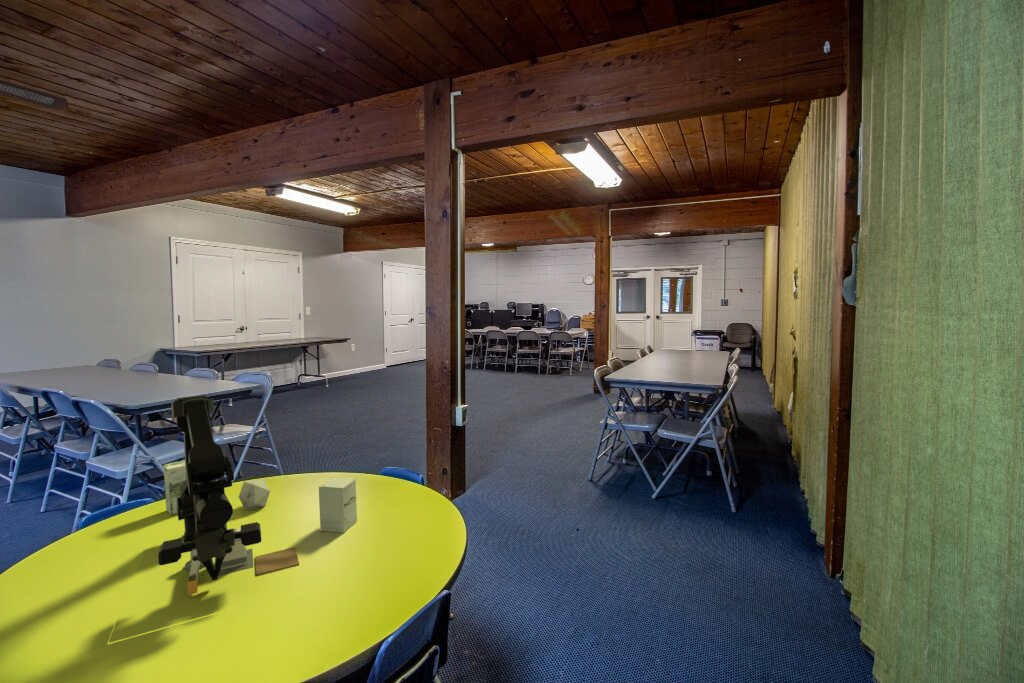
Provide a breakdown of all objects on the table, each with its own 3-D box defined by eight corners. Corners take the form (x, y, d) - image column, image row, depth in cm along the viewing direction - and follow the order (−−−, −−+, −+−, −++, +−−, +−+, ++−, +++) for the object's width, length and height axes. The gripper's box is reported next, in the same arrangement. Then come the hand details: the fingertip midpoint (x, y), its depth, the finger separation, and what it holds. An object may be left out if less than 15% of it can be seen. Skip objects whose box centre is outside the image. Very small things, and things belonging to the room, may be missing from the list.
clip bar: (191, 559, 116) (190, 544, 115) (204, 556, 117) (203, 541, 117) (185, 595, 101) (183, 578, 101) (199, 592, 103) (198, 575, 102)
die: (232, 510, 148) (230, 492, 142) (250, 487, 155) (249, 468, 149) (259, 520, 148) (258, 501, 142) (276, 496, 155) (276, 477, 149)
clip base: (186, 564, 116) (186, 560, 116) (210, 558, 119) (210, 554, 119) (184, 574, 112) (184, 569, 112) (209, 568, 114) (209, 563, 114)
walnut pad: (255, 558, 118) (255, 556, 118) (295, 549, 123) (295, 546, 123) (256, 577, 110) (256, 574, 110) (299, 565, 115) (299, 563, 115)
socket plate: (215, 558, 119) (215, 557, 119) (252, 549, 123) (252, 548, 123) (213, 578, 110) (213, 576, 110) (253, 568, 114) (253, 567, 114)
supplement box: (344, 533, 131) (342, 488, 130) (319, 531, 132) (317, 486, 131) (358, 521, 138) (356, 478, 137) (334, 519, 139) (332, 476, 138)
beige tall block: (221, 559, 118) (219, 528, 117) (246, 553, 120) (244, 523, 119) (220, 570, 113) (218, 538, 112) (246, 564, 115) (245, 532, 115)
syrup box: (188, 504, 151) (185, 459, 150) (193, 510, 147) (189, 463, 145) (166, 510, 147) (162, 463, 145) (170, 516, 143) (167, 468, 141)
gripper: (151, 537, 93) (157, 614, 95) (260, 515, 102) (264, 585, 104) (159, 515, 103) (164, 585, 104) (258, 496, 112) (262, 561, 113)
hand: (215, 579), depth 106 cm, fingers closed
